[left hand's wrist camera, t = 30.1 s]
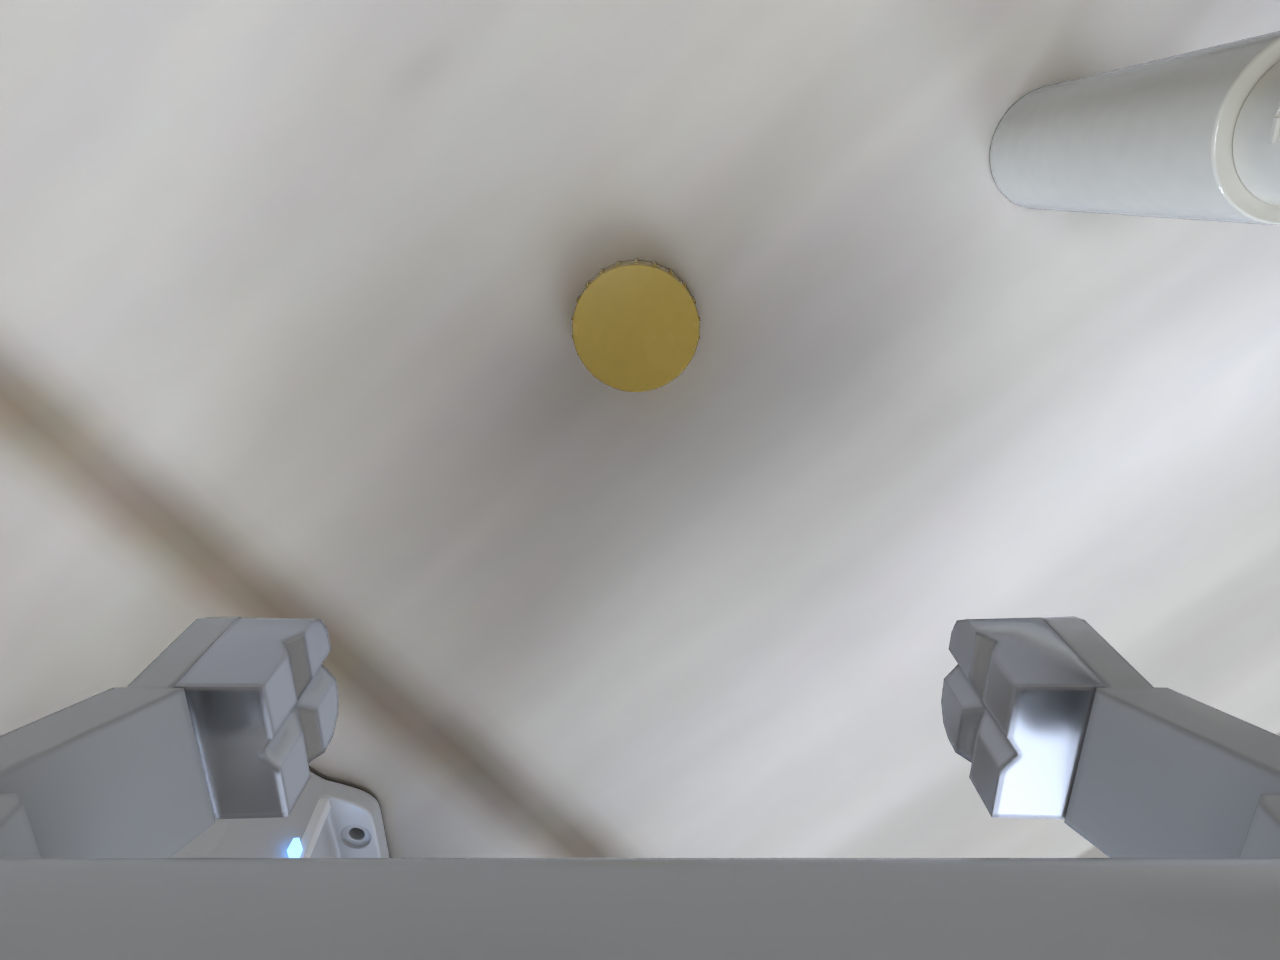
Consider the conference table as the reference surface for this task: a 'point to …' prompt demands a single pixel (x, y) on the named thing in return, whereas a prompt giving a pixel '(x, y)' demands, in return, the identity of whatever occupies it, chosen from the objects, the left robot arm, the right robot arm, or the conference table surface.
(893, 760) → the conference table surface
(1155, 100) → the jar
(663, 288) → the lid
